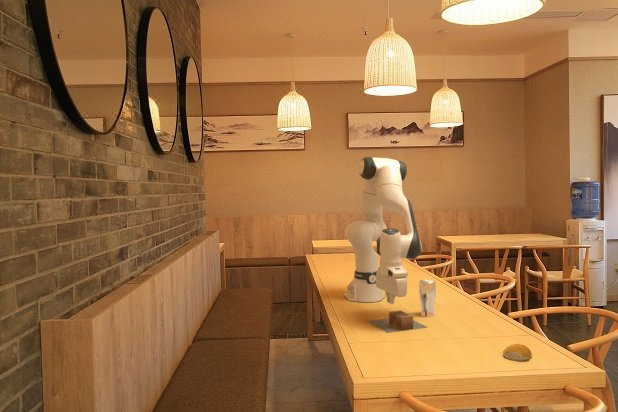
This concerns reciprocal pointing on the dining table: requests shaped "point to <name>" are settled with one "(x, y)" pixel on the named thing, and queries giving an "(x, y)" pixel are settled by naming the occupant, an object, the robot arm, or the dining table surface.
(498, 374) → the dining table surface
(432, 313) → the beer glass
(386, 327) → the rubber mat
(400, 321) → the walnut block
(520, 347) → the bread roll
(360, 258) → the robot arm
